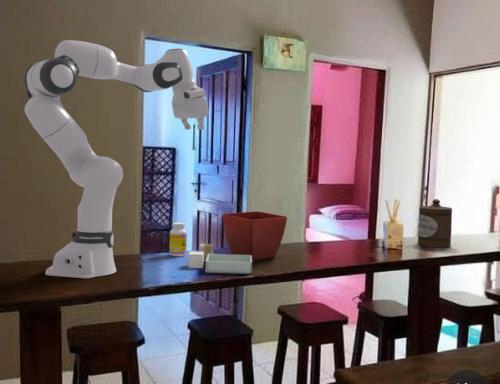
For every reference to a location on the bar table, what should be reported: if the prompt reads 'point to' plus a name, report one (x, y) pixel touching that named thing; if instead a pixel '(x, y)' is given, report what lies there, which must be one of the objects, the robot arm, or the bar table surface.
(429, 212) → the wooden container
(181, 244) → the supplement bottle
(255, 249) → the plant pot
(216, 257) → the tray
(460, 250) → the bar table surface
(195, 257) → the white cube
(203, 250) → the beech block
